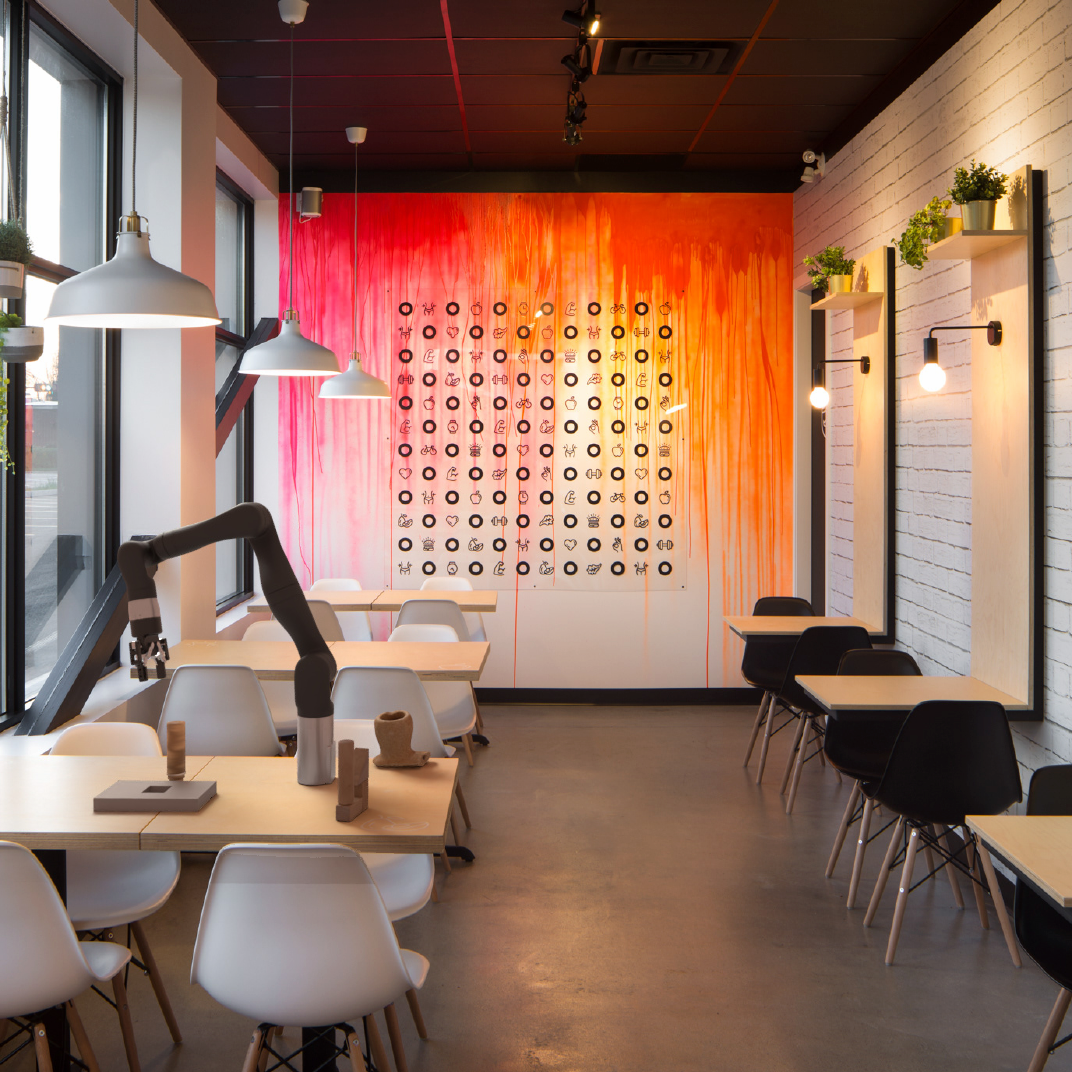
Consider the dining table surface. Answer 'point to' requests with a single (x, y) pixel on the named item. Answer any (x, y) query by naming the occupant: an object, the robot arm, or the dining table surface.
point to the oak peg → (176, 750)
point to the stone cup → (397, 740)
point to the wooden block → (352, 780)
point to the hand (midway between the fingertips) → (153, 679)
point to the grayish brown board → (155, 796)
